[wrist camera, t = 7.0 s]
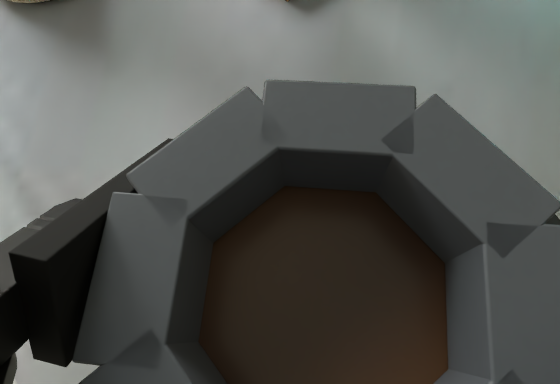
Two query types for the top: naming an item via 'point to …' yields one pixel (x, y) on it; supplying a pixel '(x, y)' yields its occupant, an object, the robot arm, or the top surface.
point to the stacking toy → (27, 1)
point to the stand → (325, 295)
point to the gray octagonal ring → (341, 176)
